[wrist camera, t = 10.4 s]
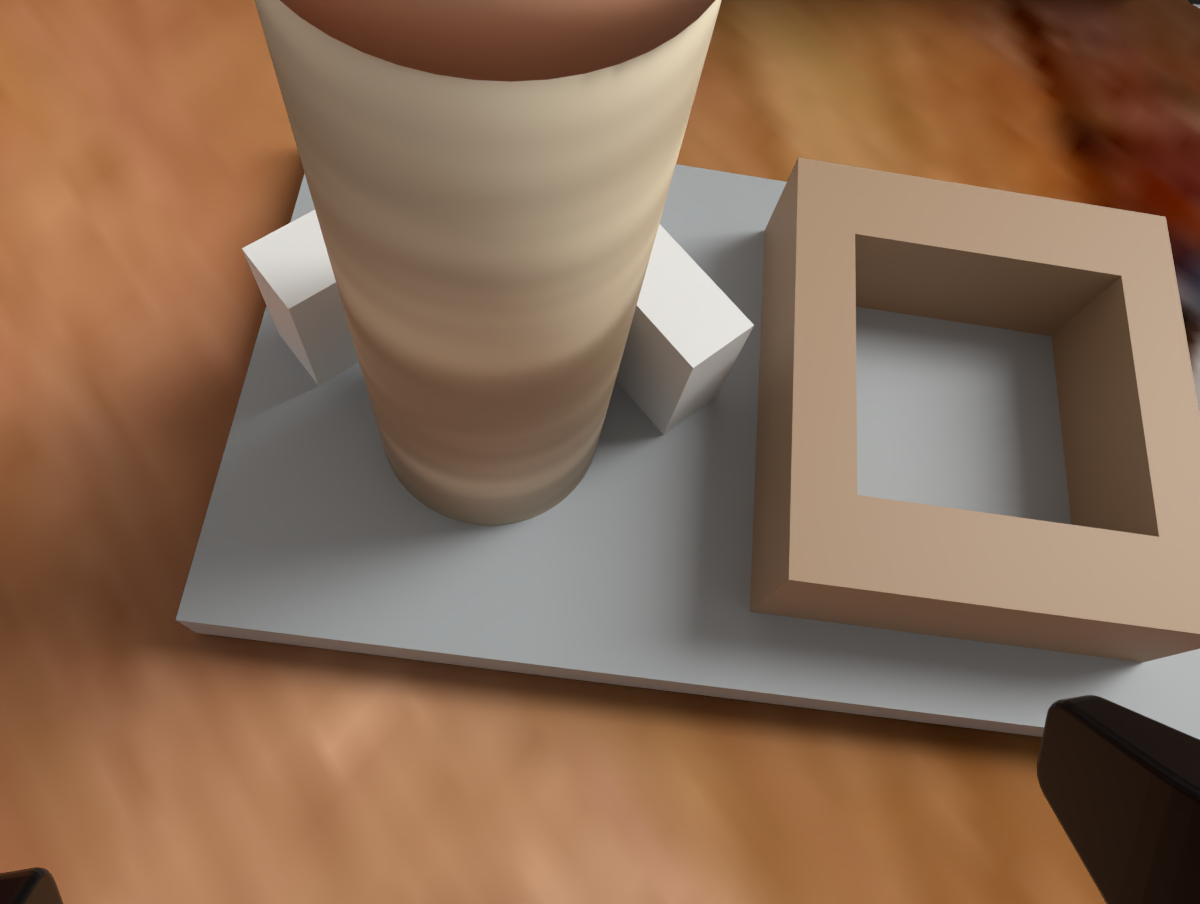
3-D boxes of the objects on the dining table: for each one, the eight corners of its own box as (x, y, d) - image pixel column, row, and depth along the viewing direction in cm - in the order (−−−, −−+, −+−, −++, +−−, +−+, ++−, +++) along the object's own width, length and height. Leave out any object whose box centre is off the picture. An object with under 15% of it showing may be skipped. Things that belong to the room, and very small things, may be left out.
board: (1183, 754, 19) (1363, 736, 15) (195, 632, 17) (110, 578, 13) (1113, 267, 23) (1237, 156, 19) (331, 143, 22) (297, -1, 18)
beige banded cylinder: (625, 503, 18) (887, -125, 6) (398, 549, 17) (186, -76, 5) (573, 310, 20) (700, -492, 8) (362, 343, 19) (134, -500, 7)
